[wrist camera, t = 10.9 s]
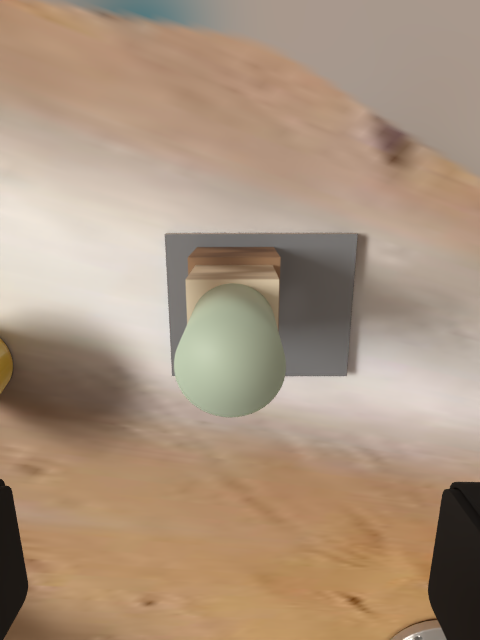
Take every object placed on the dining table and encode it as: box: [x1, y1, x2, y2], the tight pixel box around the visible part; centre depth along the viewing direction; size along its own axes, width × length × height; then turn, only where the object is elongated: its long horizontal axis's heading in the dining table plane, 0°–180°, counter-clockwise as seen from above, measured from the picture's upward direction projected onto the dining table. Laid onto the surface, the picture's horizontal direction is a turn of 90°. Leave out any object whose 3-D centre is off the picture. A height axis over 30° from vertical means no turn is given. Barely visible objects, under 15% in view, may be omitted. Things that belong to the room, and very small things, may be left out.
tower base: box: [188, 247, 281, 332], centre depth 30 cm, size 6×6×6 cm
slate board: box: [165, 233, 358, 376], centre depth 34 cm, size 15×12×1 cm
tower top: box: [185, 265, 279, 328], centre depth 25 cm, size 5×5×5 cm
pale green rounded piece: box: [174, 283, 286, 417], centre depth 20 cm, size 5×5×6 cm
